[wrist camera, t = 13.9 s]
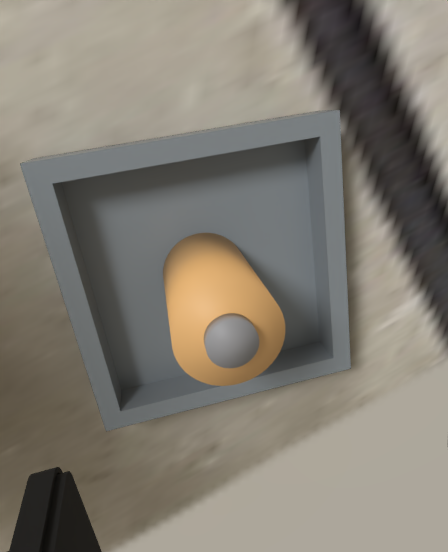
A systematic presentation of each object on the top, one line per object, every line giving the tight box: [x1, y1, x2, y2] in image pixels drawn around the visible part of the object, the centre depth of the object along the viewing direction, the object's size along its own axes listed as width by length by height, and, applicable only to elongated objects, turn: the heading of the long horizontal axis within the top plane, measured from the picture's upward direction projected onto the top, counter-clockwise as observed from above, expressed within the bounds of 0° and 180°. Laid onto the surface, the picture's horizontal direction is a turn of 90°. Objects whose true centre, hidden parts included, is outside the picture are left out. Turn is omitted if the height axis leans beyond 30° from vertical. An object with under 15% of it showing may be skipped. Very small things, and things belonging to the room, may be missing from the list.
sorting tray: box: [20, 110, 351, 431], centre depth 22 cm, size 14×14×2 cm
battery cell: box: [163, 233, 285, 386], centre depth 19 cm, size 4×4×8 cm
